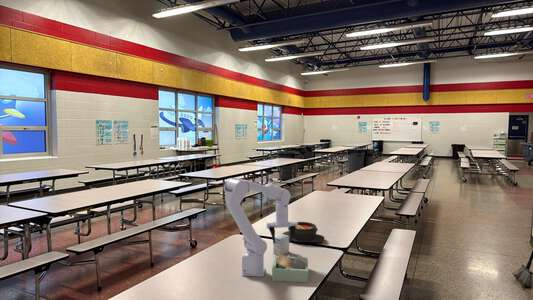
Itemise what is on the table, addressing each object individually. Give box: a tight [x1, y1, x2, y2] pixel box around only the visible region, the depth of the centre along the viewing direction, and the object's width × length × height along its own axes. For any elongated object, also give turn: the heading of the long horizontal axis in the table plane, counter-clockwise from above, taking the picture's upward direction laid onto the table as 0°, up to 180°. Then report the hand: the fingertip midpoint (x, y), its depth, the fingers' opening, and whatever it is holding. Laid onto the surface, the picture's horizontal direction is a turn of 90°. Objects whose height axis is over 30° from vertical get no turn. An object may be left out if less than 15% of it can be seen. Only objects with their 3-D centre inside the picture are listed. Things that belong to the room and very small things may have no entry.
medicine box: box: [272, 233, 290, 256], centre depth 166 cm, size 8×4×9 cm, turn 141°
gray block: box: [292, 253, 307, 269], centre depth 141 cm, size 4×4×5 cm
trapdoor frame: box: [271, 255, 309, 284], centre depth 142 cm, size 15×14×6 cm
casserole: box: [282, 221, 325, 244], centre depth 187 cm, size 25×19×8 cm
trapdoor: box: [277, 252, 293, 269], centre depth 142 cm, size 12×11×3 cm
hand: (282, 242), depth 152 cm, fingers open, 7 cm apart
